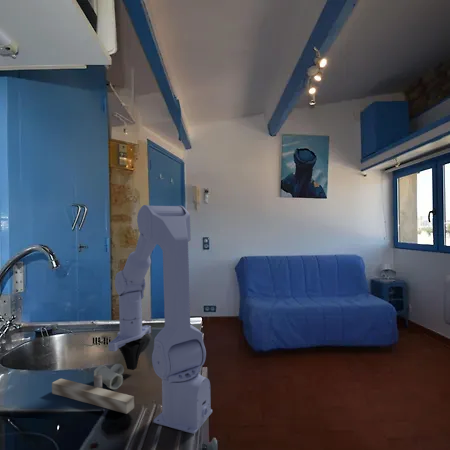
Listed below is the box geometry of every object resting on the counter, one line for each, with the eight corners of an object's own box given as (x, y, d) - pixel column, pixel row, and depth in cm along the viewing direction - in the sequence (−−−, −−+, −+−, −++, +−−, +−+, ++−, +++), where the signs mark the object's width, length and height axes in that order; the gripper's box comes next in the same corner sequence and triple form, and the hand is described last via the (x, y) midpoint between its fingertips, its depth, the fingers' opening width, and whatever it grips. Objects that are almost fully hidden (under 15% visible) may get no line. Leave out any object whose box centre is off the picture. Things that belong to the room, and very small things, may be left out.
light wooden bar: (139, 403, 73) (139, 383, 73) (126, 413, 69) (126, 392, 69) (67, 385, 82) (66, 367, 82) (52, 393, 78) (51, 374, 78)
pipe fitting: (117, 374, 88) (93, 381, 83) (118, 359, 89) (94, 366, 84) (134, 383, 83) (109, 392, 78) (135, 368, 83) (110, 375, 78)
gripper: (136, 308, 95) (137, 355, 95) (98, 323, 82) (99, 377, 82) (156, 311, 92) (157, 359, 93) (120, 326, 79) (122, 383, 79)
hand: (131, 368), depth 87 cm, fingers closed
